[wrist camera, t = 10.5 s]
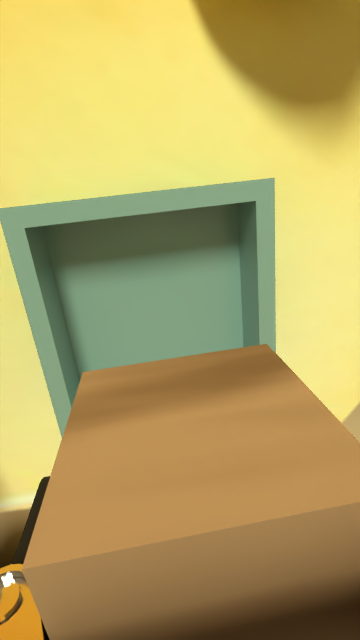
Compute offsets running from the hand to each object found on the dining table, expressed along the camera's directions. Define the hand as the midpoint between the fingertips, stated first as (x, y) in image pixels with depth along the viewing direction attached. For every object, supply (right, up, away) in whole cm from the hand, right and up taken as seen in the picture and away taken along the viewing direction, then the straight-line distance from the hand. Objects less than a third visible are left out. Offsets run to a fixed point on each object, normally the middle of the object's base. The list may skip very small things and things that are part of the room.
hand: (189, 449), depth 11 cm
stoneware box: (-2, +6, +16) cm, 17 cm away
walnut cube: (0, 0, +1) cm, 1 cm away
